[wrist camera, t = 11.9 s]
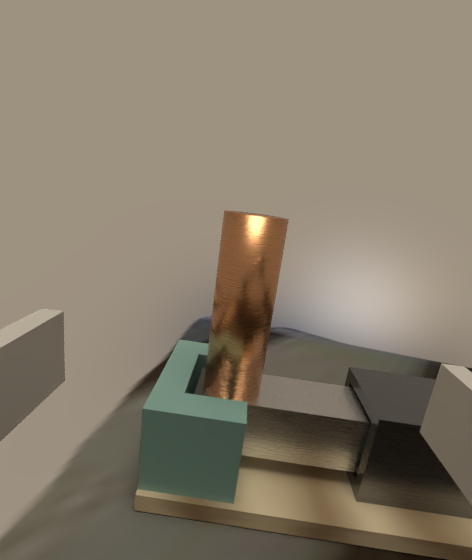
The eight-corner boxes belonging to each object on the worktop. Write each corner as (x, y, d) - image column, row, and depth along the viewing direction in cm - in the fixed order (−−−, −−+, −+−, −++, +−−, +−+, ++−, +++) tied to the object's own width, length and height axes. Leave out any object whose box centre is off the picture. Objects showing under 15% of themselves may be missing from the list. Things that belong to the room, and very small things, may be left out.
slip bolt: (379, 436, 25) (436, 237, 21) (402, 480, 21) (479, 246, 17) (198, 409, 25) (221, 209, 22) (188, 448, 22) (213, 210, 18)
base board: (446, 447, 28) (450, 436, 28) (545, 574, 19) (553, 559, 18) (174, 406, 29) (175, 395, 29) (134, 510, 19) (135, 494, 19)
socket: (240, 408, 28) (249, 349, 27) (233, 503, 19) (246, 424, 18) (174, 398, 28) (179, 339, 27) (137, 489, 19) (142, 408, 18)
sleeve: (463, 452, 26) (488, 387, 25) (526, 527, 20) (563, 446, 19) (333, 433, 27) (349, 367, 25) (356, 501, 21) (379, 419, 19)
